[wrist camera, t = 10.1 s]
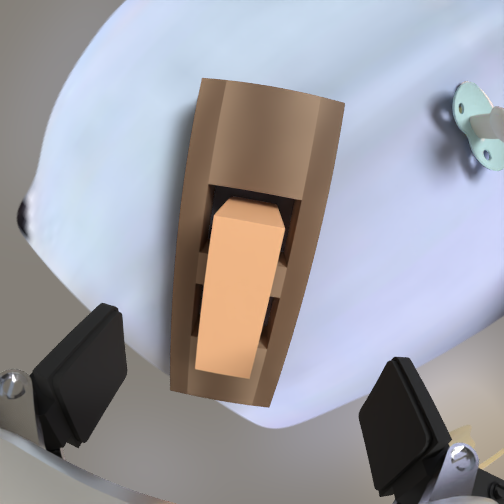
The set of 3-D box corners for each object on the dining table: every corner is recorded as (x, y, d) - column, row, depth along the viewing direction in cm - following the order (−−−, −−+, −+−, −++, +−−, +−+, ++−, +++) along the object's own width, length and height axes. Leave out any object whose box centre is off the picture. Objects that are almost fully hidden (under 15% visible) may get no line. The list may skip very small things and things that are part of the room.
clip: (276, 204, 19) (285, 228, 12) (253, 315, 21) (249, 378, 14) (231, 195, 18) (213, 215, 12) (213, 308, 21) (195, 368, 14)
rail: (332, 111, 16) (345, 103, 14) (268, 383, 23) (269, 407, 20) (211, 90, 16) (202, 78, 13) (178, 367, 23) (170, 390, 20)
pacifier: (464, 69, 14) (432, 102, 16) (512, 54, 8) (485, 88, 10) (505, 139, 16) (477, 178, 17) (554, 141, 10) (531, 187, 11)
